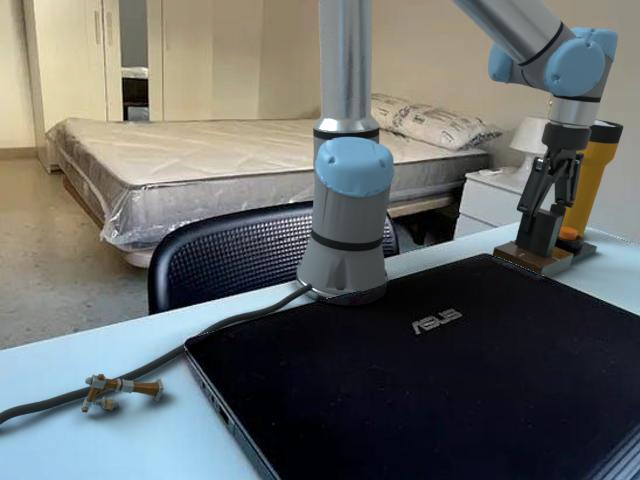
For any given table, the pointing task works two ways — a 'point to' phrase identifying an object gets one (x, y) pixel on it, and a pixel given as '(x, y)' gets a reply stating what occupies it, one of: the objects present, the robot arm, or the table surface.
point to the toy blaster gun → (123, 386)
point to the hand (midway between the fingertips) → (536, 241)
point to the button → (568, 233)
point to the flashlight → (592, 172)
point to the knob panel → (535, 259)
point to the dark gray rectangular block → (545, 232)
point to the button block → (576, 248)
